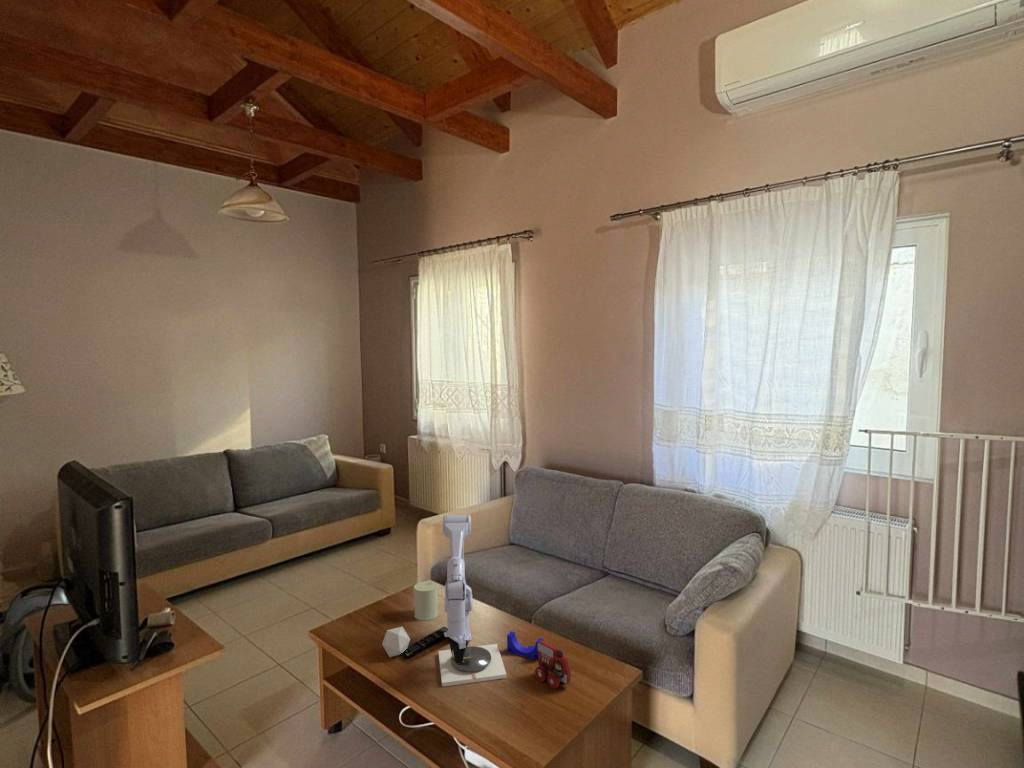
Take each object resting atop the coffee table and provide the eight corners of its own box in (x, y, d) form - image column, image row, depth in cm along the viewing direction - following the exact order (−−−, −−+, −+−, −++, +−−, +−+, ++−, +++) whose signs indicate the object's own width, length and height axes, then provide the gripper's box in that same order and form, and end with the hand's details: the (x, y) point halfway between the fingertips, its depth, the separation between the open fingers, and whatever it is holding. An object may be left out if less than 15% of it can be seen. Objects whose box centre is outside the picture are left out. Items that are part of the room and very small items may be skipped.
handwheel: (487, 646, 180) (487, 635, 180) (494, 668, 167) (494, 656, 167) (449, 651, 177) (449, 639, 177) (452, 674, 165) (452, 661, 164)
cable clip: (545, 653, 179) (545, 636, 179) (540, 660, 175) (539, 643, 175) (513, 646, 184) (512, 629, 184) (507, 652, 180) (507, 635, 180)
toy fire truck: (561, 694, 157) (560, 659, 157) (531, 676, 166) (530, 644, 166) (576, 683, 162) (575, 650, 162) (546, 667, 171) (545, 635, 171)
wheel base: (438, 654, 179) (438, 649, 179) (496, 647, 183) (496, 642, 183) (442, 687, 161) (442, 681, 161) (506, 678, 165) (506, 673, 165)
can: (443, 612, 208) (442, 582, 208) (427, 622, 201) (426, 591, 200) (425, 607, 213) (424, 578, 213) (409, 616, 206) (408, 586, 205)
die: (407, 645, 186) (389, 623, 186) (419, 641, 181) (401, 618, 180) (390, 665, 180) (372, 642, 180) (403, 661, 174) (384, 637, 174)
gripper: (438, 610, 175) (439, 650, 176) (449, 631, 162) (450, 674, 162) (459, 606, 178) (460, 645, 178) (471, 626, 164) (472, 669, 165)
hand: (457, 659), depth 171 cm, fingers open, 3 cm apart
